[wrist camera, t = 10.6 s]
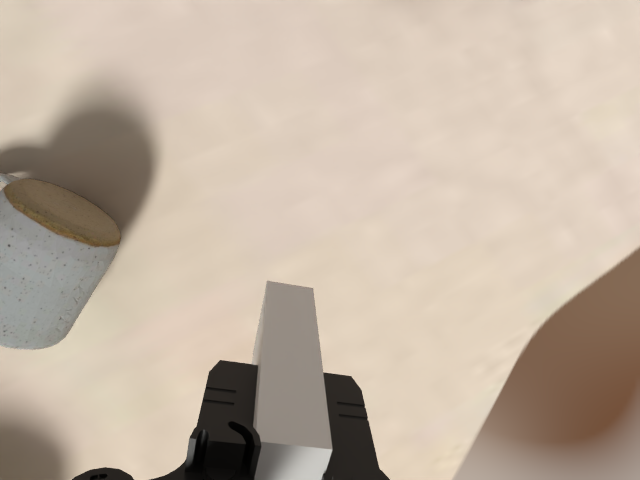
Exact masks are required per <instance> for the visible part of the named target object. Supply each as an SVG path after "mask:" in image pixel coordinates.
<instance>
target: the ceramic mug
mask: <svg viewBox="0 0 640 480" xmlns="http://www.w3.org/2000/svg"><path fill="white" fill-rule="evenodd" d="M1 181H3V182H4V183H6V184H7V185H6V186H5V187H4V188H3V189H2V190H1V191H0V346H3V347H6V348H13V349H43V348H47V347H50V346H53V345H55V344H57V343H59V342H60V341H61V340H62V339H64V338H65V337H66V335H67V334H68V332H69V331H70V329H71V328H72V326H73V324H74V322H75V321H76V319H77V317H78V316H79V314H80V313H81V311H82V309H83V308H84V306H85V305H86V303H87V301H88V300H89V298H90V297H91V295H92V293H93V291H94V290H95V288H96V286H97V284H98V283H99V281H100V280H101V278H102V277H103V275H104V274H105V272H106V270H107V269H108V267H109V265H110V264H111V262H112V260H113V259H114V257H115V254H116V252H117V249H118V247H119V244H120V239H121V236H120V232H119V229H118V227H117V225H116V223H115V222H114V221H113V219H112V218H111V217H110V216H109V215H108V214H107V213H105V212H104V211H102V210H101V209H100V208H99V207H97V206H96V205H94V204H93V203H91V202H89V201H88V200H86V199H85V198H83V197H81V196H79V195H77V194H75V193H73V192H71V191H69V190H66V189H64V188H62V187H59V186H56V185H54V184H51V183H48V182H44V181H39V180H34V179H19V178H17V177H15V176H12V175H8V174H3V173H0V182H1Z"/></svg>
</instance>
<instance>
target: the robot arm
mask: <svg viewBox="0 0 640 480" xmlns="http://www.w3.org/2000/svg"><path fill="white" fill-rule="evenodd" d="M367 418H368V417H367V413H366V408H365V404H364V399H363V395H362V391H361V389H360V388H359V386H358V385H357V384H356V382H355V381H354V379H353V378H352V377H351V376H345V375H338V374H330V373H323V367H322V359H321V351H320V342H319V334H318V326H317V318H316V309H315V301H314V293H313V288H309V287H302V286H296V285H290V284H284V283H277V282H271V281H267V284H266V289H265V294H264V299H263V304H262V309H261V314H260V320H259V325H258V330H257V335H256V340H255V345H254V350H253V359H252V364H245V363H238V362H230V361H222V360H220V361H219V362H218V363H217V364H216V365H215V366H214V367H213V368H212V370H211V371H210V372H209V375H208V380H207V384H206V389H205V393H204V397H203V402H202V406H201V410H200V414H199V419H198V423H197V427H196V428H195V429H194V431H193V432H192V434H191V436H190V438H189V445H188V452H187V458H186V460H185V462H184V463H183V464H182V465H181V466H180V467H178V468H177V469H176V470H175V471H173V472H171V473H169V474H167V475H165V476H162V477H159V478H155V479H151V480H390V479H389V478H388V477H387V476H386V475H385V474H384V473H383V472H382V471H381V470H380V469H379V466H378V461H377V457H376V452H375V448H374V444H373V439H372V435H371V430H370V426H369V421H368V420H367ZM72 480H134V479H133V478H132V476H131V475H129V474H127V473H125V472H124V471H122V470H120V469H113V468H106V467H105V468H99V469H93V470H89V471H87V472H85V473H83V474H80V475H78V476H76V477H74V478H73V479H72Z"/></svg>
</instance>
